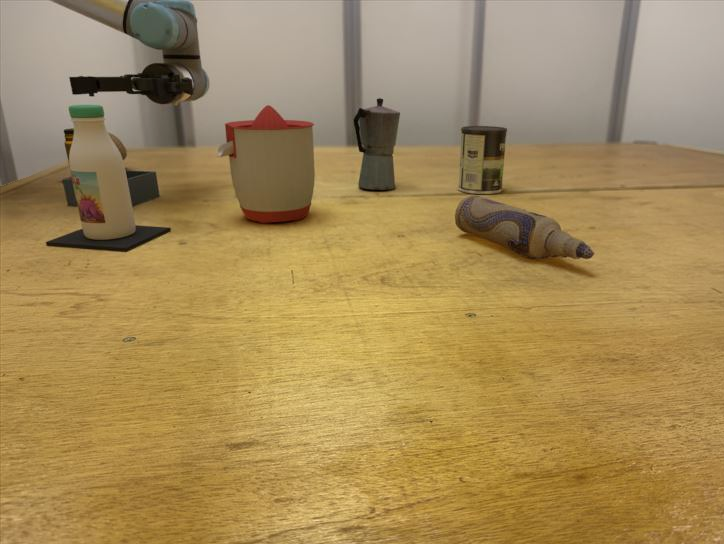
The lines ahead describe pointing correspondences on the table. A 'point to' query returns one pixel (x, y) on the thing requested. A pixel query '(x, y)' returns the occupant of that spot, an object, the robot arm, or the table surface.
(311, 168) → the citrus juicer
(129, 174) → the bin
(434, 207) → the table surface
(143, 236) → the mat
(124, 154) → the brown lumpy rounded lump
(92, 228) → the milk bottle
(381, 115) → the moka pot
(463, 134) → the coffee can
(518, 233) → the decorative bottle
